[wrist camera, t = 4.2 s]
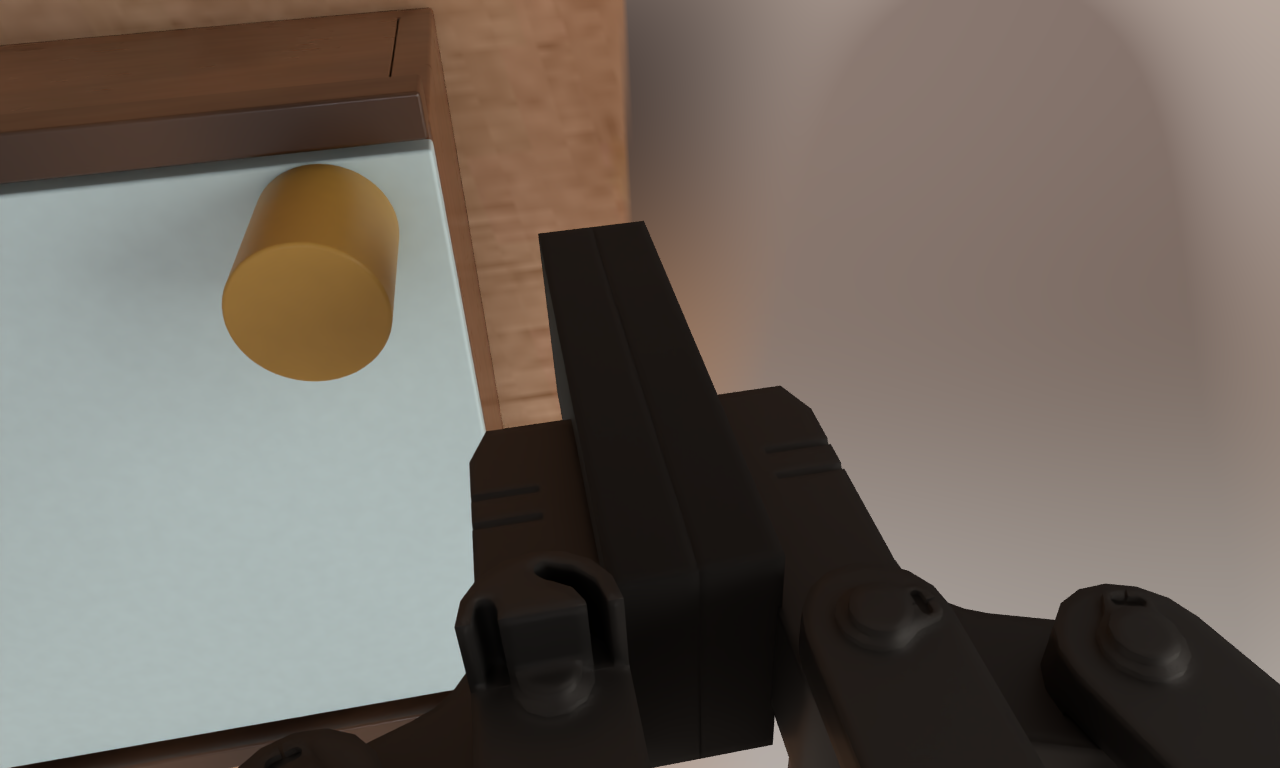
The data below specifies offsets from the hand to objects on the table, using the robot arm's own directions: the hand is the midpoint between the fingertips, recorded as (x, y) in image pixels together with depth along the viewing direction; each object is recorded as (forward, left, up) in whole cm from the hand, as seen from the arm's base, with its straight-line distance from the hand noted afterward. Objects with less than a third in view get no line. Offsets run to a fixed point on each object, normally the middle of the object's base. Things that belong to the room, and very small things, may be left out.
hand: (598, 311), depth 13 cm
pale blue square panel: (+9, +6, -4) cm, 11 cm away
